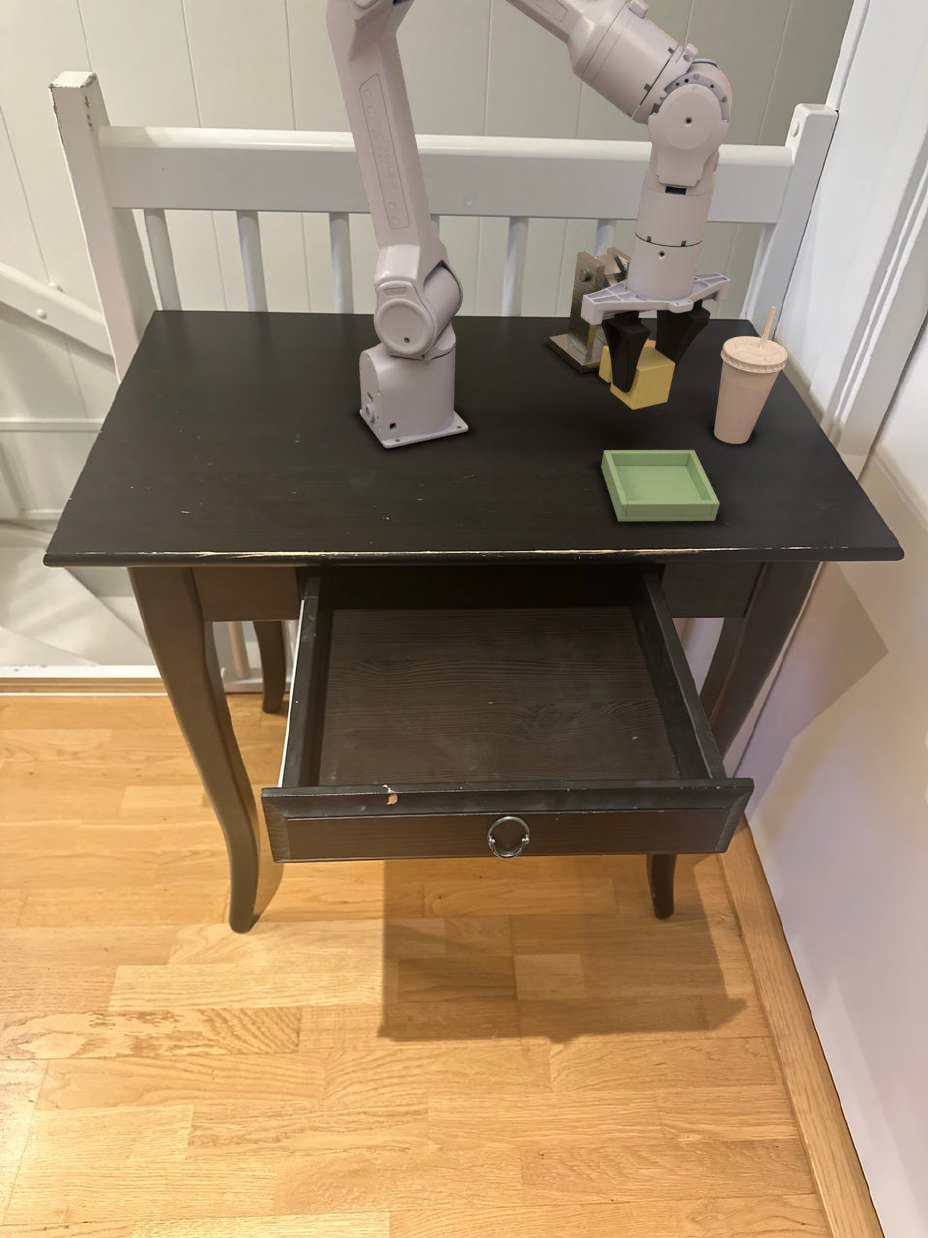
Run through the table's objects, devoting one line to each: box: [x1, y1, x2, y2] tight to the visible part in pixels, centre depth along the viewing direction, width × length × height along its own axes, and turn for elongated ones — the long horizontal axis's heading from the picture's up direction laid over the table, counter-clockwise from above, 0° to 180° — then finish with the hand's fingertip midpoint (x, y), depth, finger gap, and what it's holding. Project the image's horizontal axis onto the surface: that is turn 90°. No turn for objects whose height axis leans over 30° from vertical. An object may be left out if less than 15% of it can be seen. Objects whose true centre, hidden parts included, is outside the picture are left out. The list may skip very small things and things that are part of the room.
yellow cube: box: [609, 346, 675, 410], centre depth 80 cm, size 4×4×4 cm
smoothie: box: [713, 305, 789, 445], centre depth 85 cm, size 6×6×14 cm
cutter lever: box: [593, 253, 656, 348], centre depth 95 cm, size 15×3×3 cm, turn 25°
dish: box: [600, 449, 721, 522], centre depth 81 cm, size 9×9×2 cm
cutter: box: [547, 246, 631, 375], centre depth 99 cm, size 8×8×12 cm
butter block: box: [598, 346, 612, 384], centre depth 98 cm, size 2×4×4 cm, turn 115°
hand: (640, 383), depth 80 cm, fingers closed on yellow cube, 4 cm apart
